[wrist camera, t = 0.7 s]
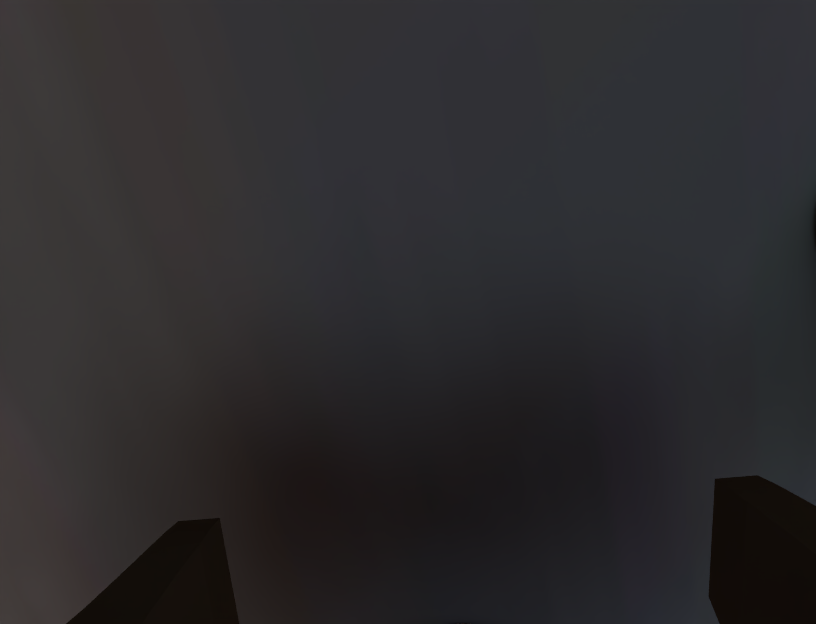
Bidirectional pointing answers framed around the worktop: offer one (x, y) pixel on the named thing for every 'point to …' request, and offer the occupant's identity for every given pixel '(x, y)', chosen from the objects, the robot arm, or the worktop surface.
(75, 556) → the worktop surface
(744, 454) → the worktop surface
